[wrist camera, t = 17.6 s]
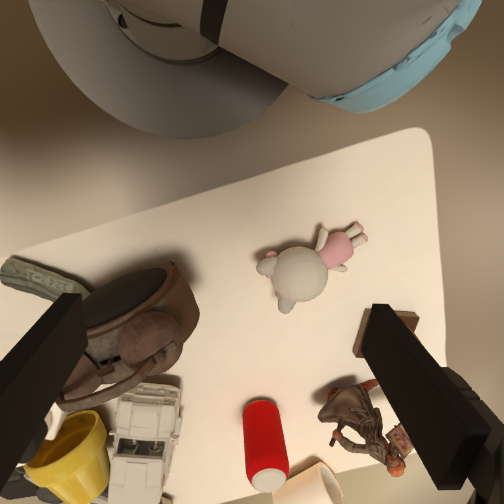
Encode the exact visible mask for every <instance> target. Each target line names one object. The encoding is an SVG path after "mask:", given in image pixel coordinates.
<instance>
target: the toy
mask: <svg viewBox="0 0 504 504" xmlns="http://www.w3.org/2000/svg"><path fill="white" fill-rule="evenodd" d="M362 232H363V227H362V225H361V224H358V223H354V224H353V227H351V228H350V229H349V230H347V231H346V232H345V233H344V232H335V233H333V234H332V235H330V236H328V230H327V229H326V228H322V229H321V230H320V231H319V238H318V242H317V245H316V248H315V249H314V250H312V249H309V248H306V247H292V248H289V249H286V250H285V251H283V252H281V253H280V254H279V255H278V254H277V253H276V252H275V251H269V252H267V253H266V255H265V259H263V260H261V261H260V262H258V264H257V266H256V269H257V272H258V273H259V274H261V275H265V276H266V277H267V278H269V279H271V280H272V283H273V285H274V288H275V289H276V291H277V297H278V298H279V299H278V309H279V311H280V312H281V313H283V314H287V313H289V312H290V311H291V310H292V308H293V307H294V305H295V304H296V302H306V301H309V300H312V299H314V298H315V297H317V296H318V295H319V294H320V293H321V292H322V291H323V289H324V288H325V286H326V283H327V280H328V269H329V270H335V271H340V272H346V271H347V267H346V266H345V265H342V263H344V262H346V261H347V260H348V259H350V258H351V257H352V255H353V253H354V250H353V248H355V247H357V246H359V245H361V244H363V243H365V242H367V241H368V237H367V236H366V234H364V233H362ZM355 235H357V237H356V238H354V239H353V240H352V241H350V239H349V238H351V237H353V236H355ZM327 236H328V237H327Z"/></svg>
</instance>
